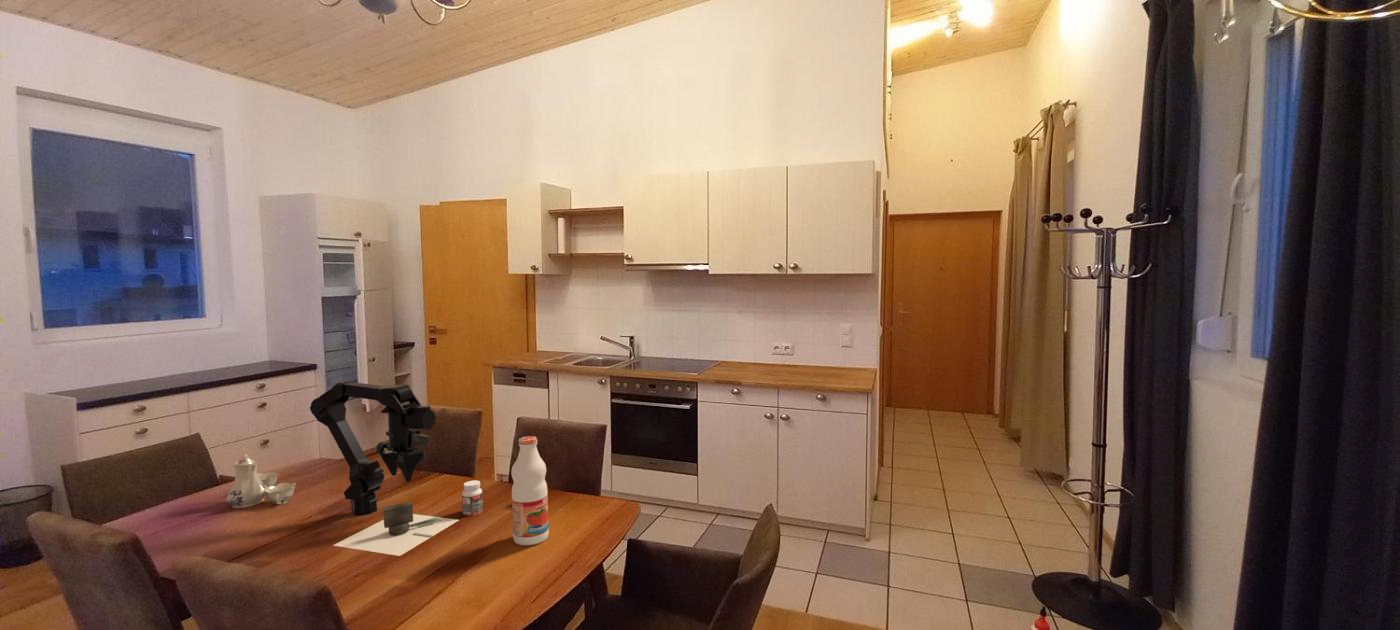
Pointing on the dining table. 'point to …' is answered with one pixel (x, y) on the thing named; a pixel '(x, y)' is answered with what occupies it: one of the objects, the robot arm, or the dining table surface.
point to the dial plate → (395, 536)
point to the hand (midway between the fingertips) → (401, 478)
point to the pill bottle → (472, 498)
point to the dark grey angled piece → (400, 518)
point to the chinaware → (256, 485)
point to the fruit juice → (529, 495)
